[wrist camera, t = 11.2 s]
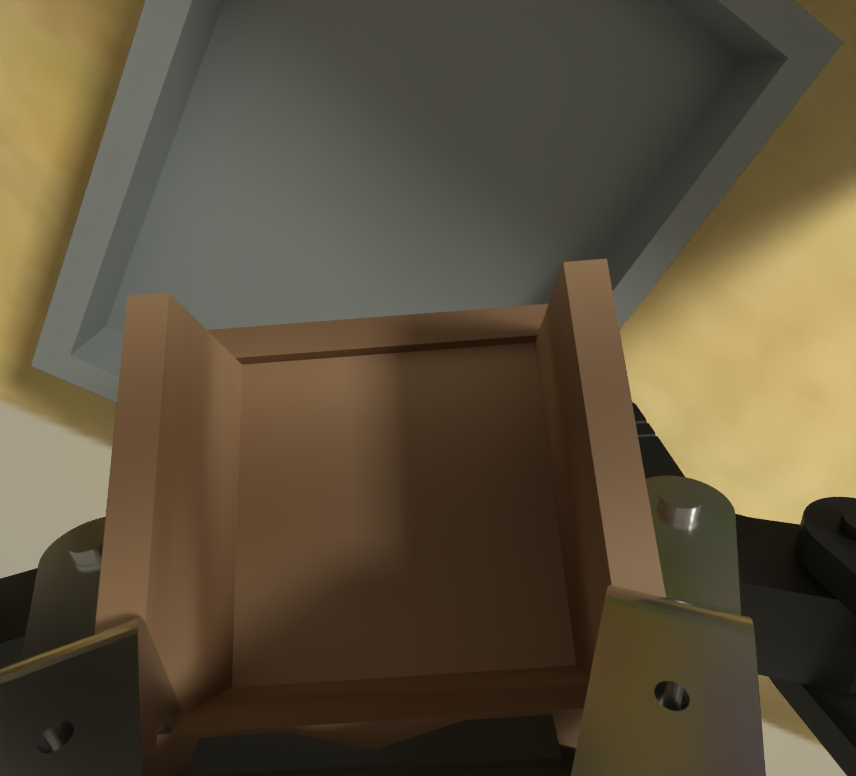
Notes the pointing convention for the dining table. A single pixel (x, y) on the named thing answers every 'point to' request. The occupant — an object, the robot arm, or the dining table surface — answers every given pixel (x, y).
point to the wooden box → (375, 515)
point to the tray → (412, 156)
